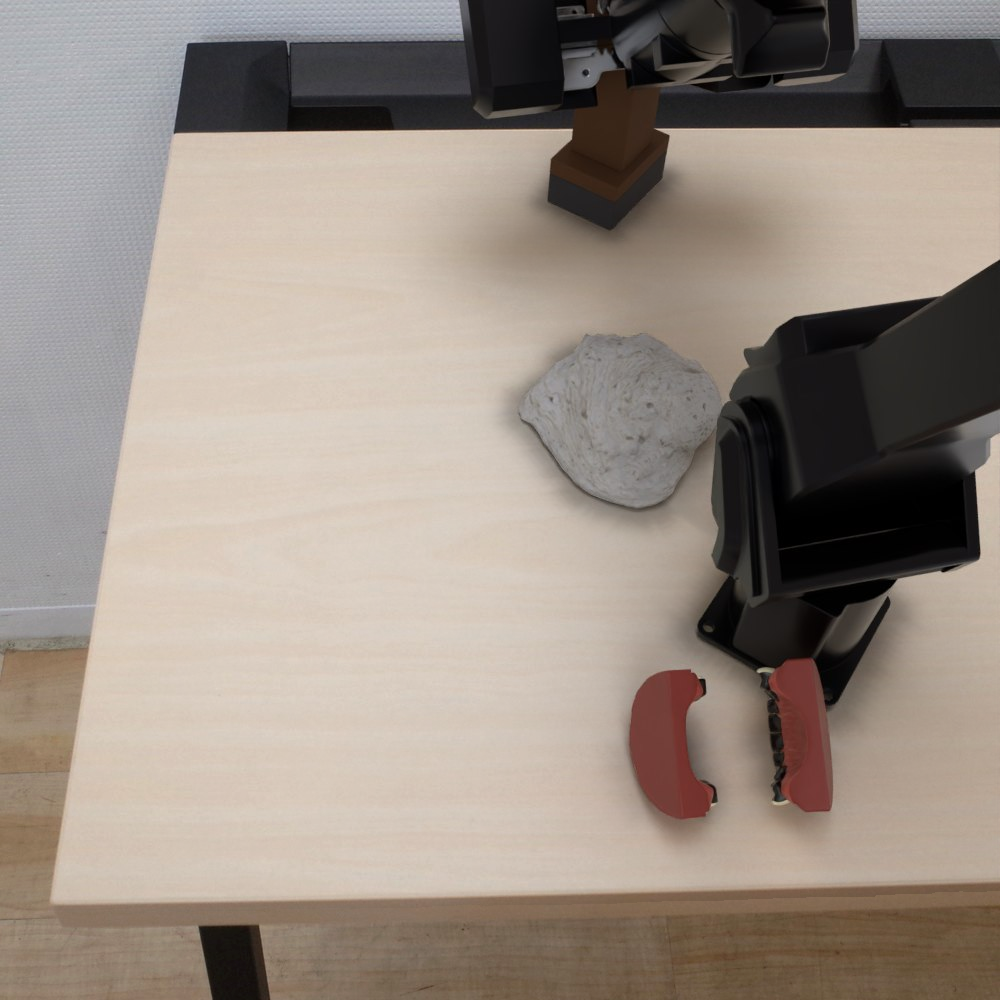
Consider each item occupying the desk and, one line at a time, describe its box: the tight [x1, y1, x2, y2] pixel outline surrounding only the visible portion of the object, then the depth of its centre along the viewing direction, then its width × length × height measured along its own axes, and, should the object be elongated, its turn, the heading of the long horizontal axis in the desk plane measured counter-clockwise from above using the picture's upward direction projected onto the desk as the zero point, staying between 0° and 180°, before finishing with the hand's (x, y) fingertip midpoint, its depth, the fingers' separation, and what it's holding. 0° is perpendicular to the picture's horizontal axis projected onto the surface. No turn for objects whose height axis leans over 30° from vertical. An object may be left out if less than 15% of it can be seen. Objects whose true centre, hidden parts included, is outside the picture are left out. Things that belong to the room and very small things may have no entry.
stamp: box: [547, 0, 671, 231], centre depth 59 cm, size 6×4×13 cm
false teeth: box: [628, 658, 834, 820], centre depth 42 cm, size 6×4×8 cm
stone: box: [517, 332, 723, 510], centre depth 53 cm, size 10×5×10 cm
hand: (612, 67), depth 60 cm, fingers closed on stamp, 5 cm apart
